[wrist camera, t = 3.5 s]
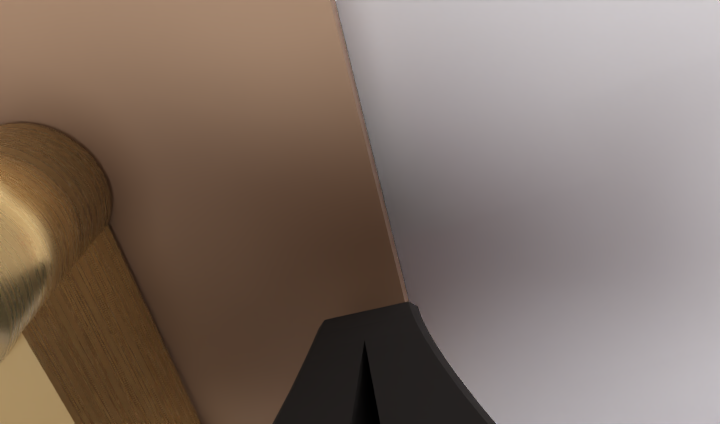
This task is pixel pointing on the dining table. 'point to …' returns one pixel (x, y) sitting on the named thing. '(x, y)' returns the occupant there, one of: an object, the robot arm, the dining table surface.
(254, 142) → the brown wooden board
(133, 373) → the lever
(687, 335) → the dining table surface
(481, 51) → the dining table surface
